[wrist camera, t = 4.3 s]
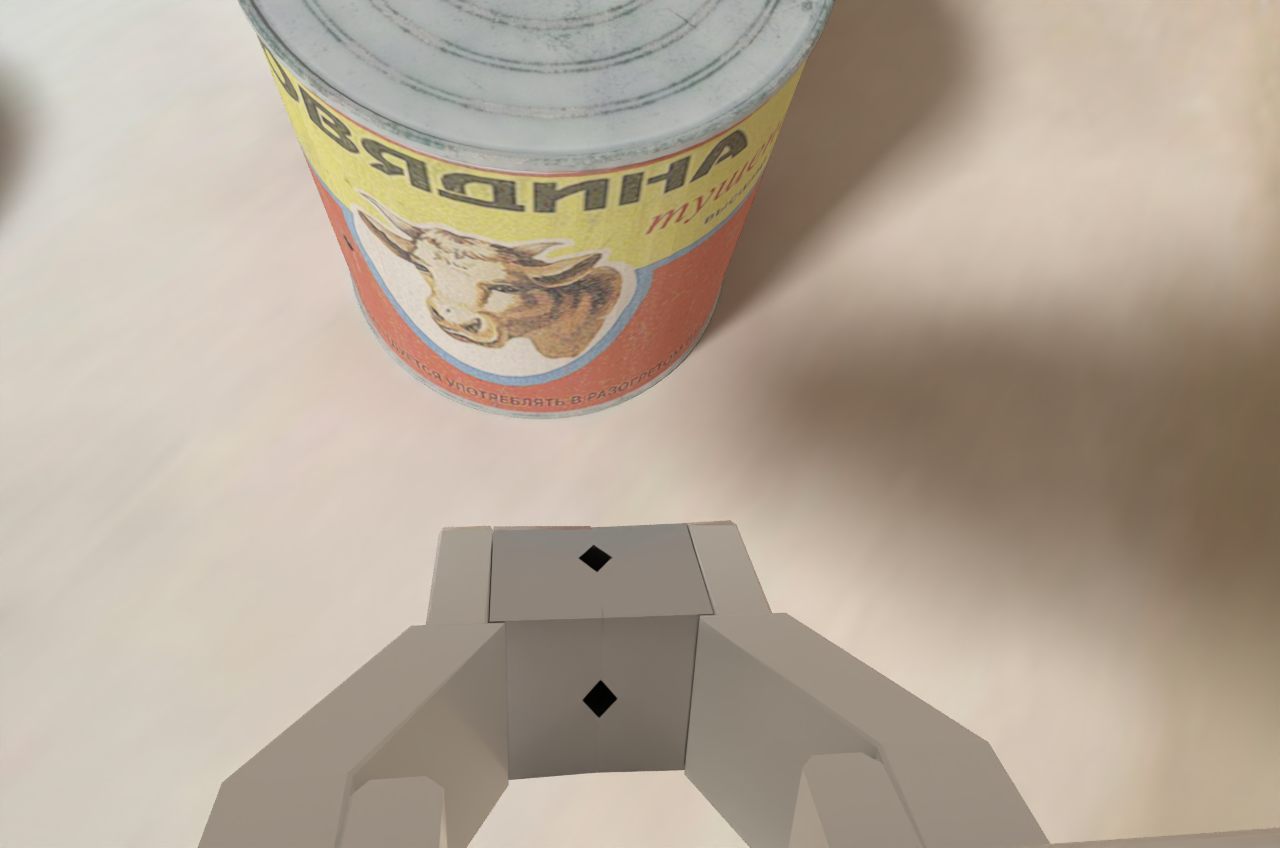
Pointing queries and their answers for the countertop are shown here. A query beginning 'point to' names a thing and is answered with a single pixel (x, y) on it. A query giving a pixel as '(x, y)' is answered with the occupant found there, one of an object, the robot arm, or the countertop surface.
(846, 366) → the countertop surface
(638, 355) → the canned food
